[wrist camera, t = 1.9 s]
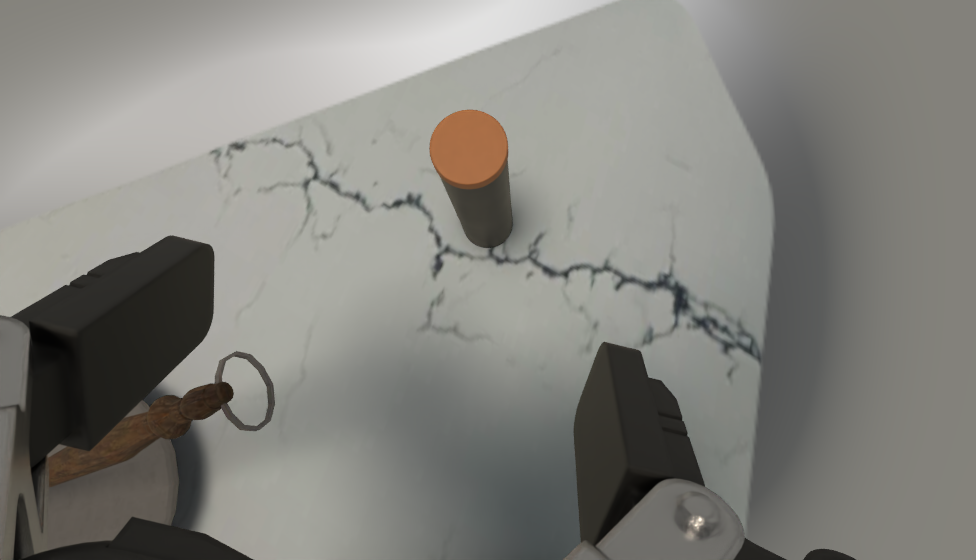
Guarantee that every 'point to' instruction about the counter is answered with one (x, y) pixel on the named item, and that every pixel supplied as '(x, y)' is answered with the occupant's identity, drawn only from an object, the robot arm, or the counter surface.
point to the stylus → (475, 174)
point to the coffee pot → (133, 465)
